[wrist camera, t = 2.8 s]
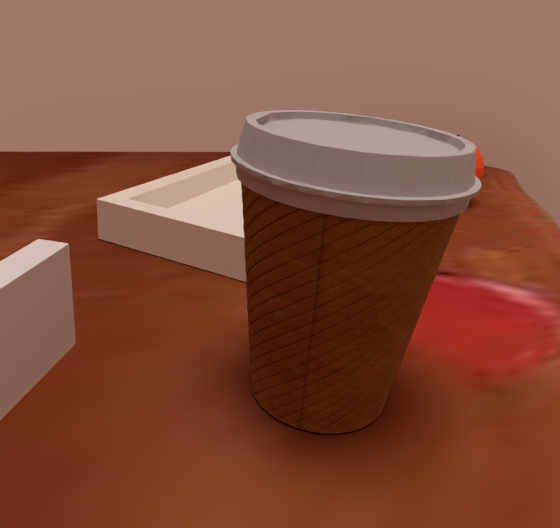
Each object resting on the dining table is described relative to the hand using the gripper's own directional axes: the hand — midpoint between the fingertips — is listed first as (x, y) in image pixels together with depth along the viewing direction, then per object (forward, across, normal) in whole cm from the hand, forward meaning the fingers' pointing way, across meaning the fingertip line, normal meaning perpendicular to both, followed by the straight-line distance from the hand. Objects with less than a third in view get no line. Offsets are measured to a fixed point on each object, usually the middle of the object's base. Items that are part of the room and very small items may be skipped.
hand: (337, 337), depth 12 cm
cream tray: (+30, -5, -8) cm, 32 cm away
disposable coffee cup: (+10, 0, -9) cm, 13 cm away
